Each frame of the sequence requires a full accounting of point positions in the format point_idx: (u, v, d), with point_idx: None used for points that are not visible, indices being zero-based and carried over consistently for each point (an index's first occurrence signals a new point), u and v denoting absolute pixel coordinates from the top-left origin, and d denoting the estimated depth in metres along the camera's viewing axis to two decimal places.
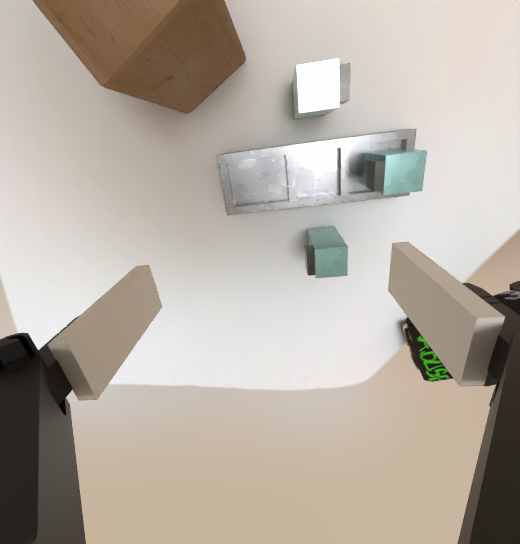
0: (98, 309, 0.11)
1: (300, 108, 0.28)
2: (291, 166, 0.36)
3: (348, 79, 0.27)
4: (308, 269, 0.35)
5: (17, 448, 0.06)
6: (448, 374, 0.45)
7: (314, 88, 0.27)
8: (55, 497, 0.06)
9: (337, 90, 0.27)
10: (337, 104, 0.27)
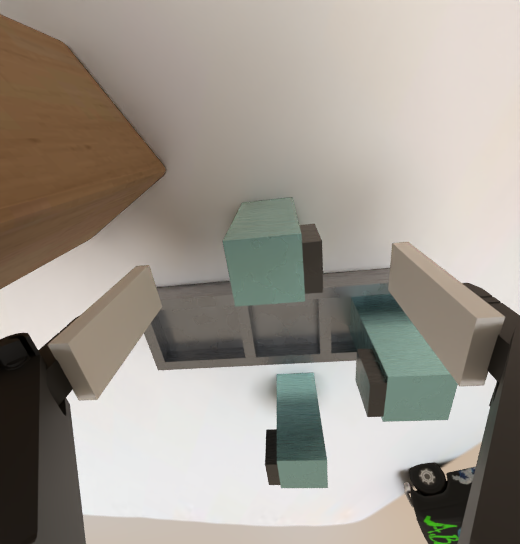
0: (98, 309, 0.11)
1: (236, 300, 0.16)
2: (245, 319, 0.24)
3: (319, 264, 0.14)
4: (269, 478, 0.24)
5: (17, 448, 0.06)
6: None
7: (258, 275, 0.15)
8: (55, 497, 0.06)
9: (300, 278, 0.15)
10: (301, 297, 0.15)
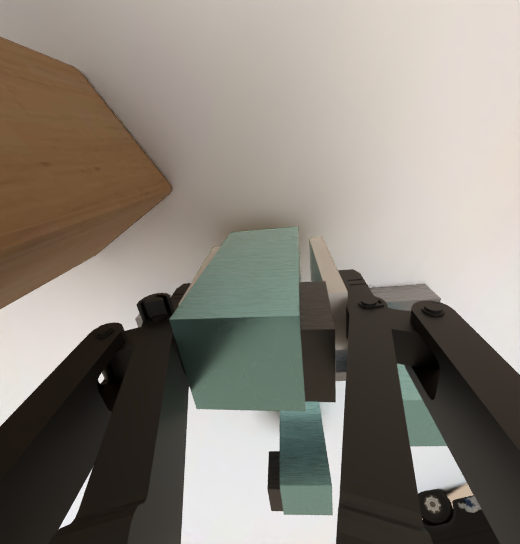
0: None
1: (198, 401, 0.10)
2: None
3: (330, 363, 0.09)
4: (271, 504, 0.23)
5: (146, 399, 0.07)
6: None
7: (230, 370, 0.09)
8: (166, 455, 0.06)
9: (298, 380, 0.09)
10: (300, 406, 0.09)
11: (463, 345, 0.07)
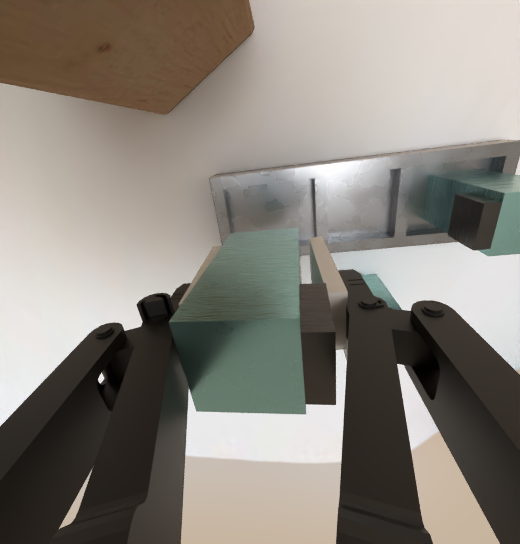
0: None
1: (198, 404, 0.10)
2: (322, 195, 0.24)
3: (330, 366, 0.08)
4: None
5: (146, 399, 0.07)
6: None
7: (230, 373, 0.09)
8: (166, 456, 0.06)
9: (298, 382, 0.09)
10: (300, 408, 0.09)
11: (463, 345, 0.07)
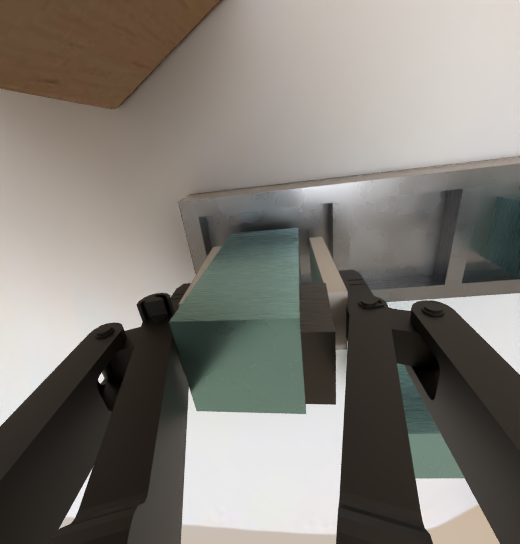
0: None
1: (198, 403, 0.10)
2: (343, 227, 0.16)
3: (330, 366, 0.08)
4: None
5: (146, 399, 0.07)
6: None
7: (230, 373, 0.09)
8: (166, 456, 0.06)
9: (298, 382, 0.09)
10: (300, 408, 0.09)
11: (463, 345, 0.07)
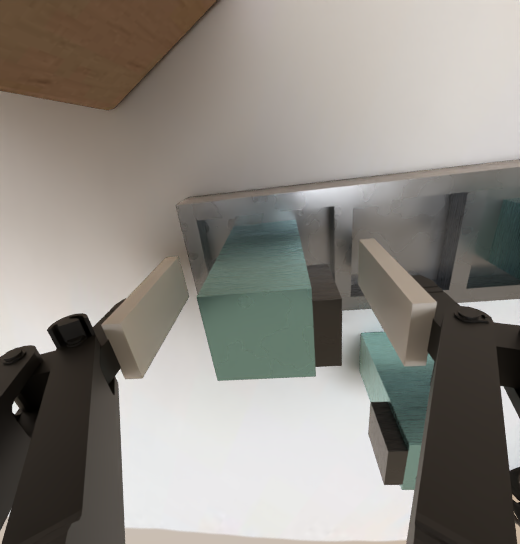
0: (140, 294, 0.12)
1: (219, 373, 0.11)
2: (345, 231, 0.16)
3: (337, 329, 0.10)
4: (387, 475, 0.15)
5: (70, 423, 0.07)
6: None
7: (249, 342, 0.10)
8: (100, 475, 0.06)
9: (310, 347, 0.10)
10: (311, 371, 0.11)
11: None
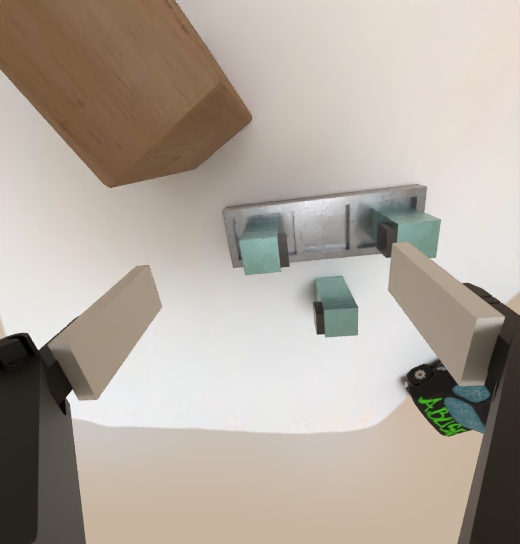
0: (98, 309, 0.11)
1: (246, 271, 0.31)
2: (298, 222, 0.35)
3: (286, 252, 0.29)
4: (317, 328, 0.34)
5: (17, 448, 0.06)
6: (463, 427, 0.43)
7: (257, 257, 0.30)
8: (56, 497, 0.06)
9: (278, 259, 0.30)
10: (279, 269, 0.30)
11: None
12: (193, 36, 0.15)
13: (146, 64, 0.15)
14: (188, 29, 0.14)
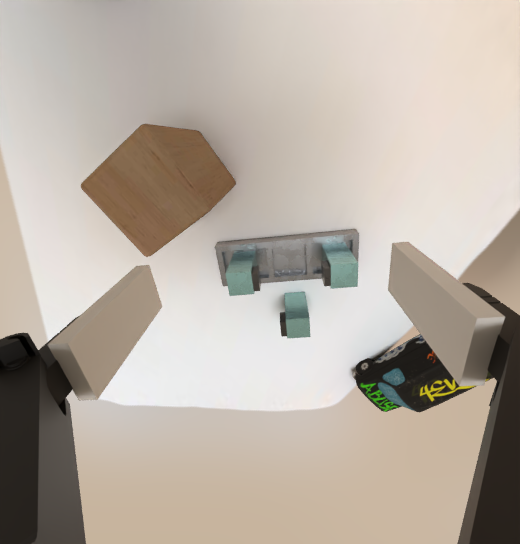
0: (98, 309, 0.11)
1: (230, 293, 0.44)
2: (270, 255, 0.49)
3: (257, 281, 0.43)
4: (281, 332, 0.48)
5: (17, 448, 0.06)
6: (395, 404, 0.58)
7: (237, 284, 0.44)
8: (55, 497, 0.06)
9: (251, 285, 0.43)
10: (252, 292, 0.44)
11: None
12: (195, 188, 0.28)
13: (171, 201, 0.28)
14: (193, 185, 0.28)
